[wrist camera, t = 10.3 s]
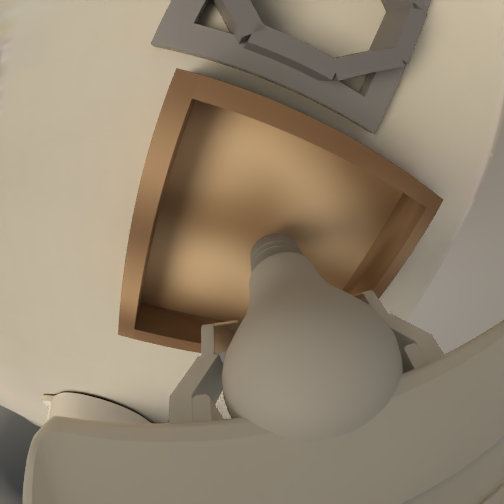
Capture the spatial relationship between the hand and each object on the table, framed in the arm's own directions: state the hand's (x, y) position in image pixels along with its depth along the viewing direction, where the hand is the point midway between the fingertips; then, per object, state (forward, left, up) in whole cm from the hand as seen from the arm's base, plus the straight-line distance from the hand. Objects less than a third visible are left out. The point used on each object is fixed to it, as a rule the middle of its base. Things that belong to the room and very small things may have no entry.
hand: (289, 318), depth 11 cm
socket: (+15, +3, -6) cm, 16 cm away
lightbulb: (+1, 0, -5) cm, 5 cm away
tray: (0, 0, -6) cm, 6 cm away
